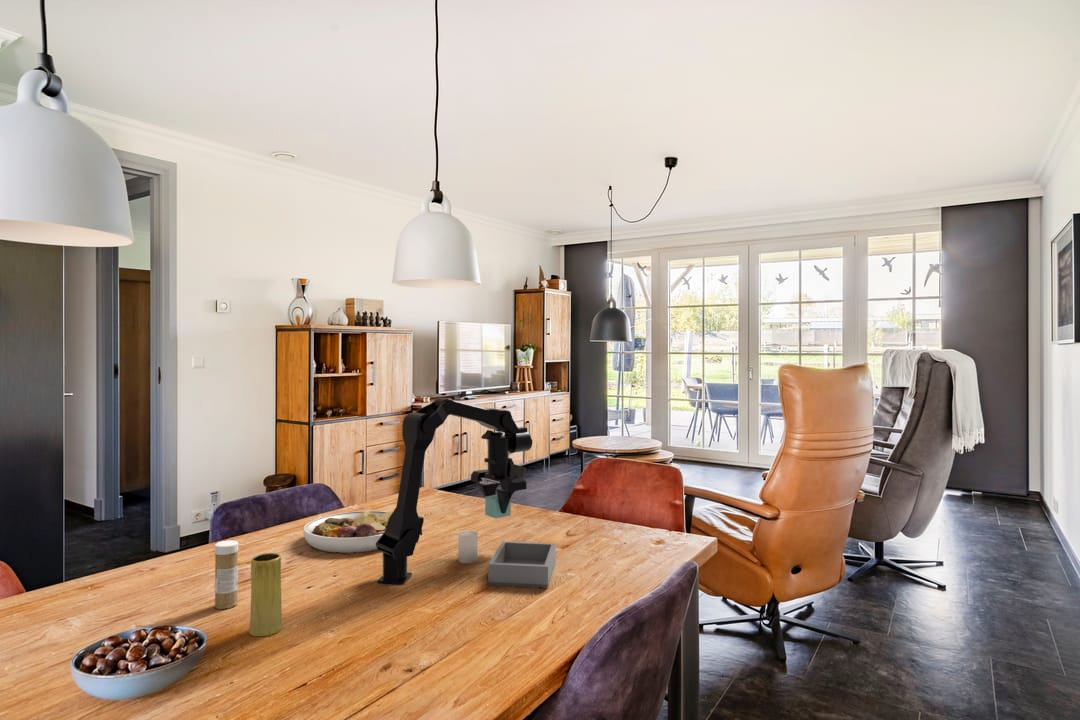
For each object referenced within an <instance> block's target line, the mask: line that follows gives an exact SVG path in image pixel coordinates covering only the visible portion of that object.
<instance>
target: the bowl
mask: <svg viewBox="0 0 1080 720" xmlns="http://www.w3.org/2000/svg"><path fill="white" fill-rule="evenodd" d="M392 513H393V511H385V510H384V511H383V510H356V511H345V512H339V513H333V514H328V515H324V516H320V517H318V518H315V519H313V520H311V521H309V522H307V523H306V524H305V525H304V526H303V530H302V531H303V538H304V540H305V541H306V542H307V544H309V545H310V546H311V547H312V548H314V549H317V550H319V551H324V552H327V553H329V552H330V553H336V552H339V553H340V554H341V553H342V554H351V553H353V554H354V552H356V553H364V552H365V551H366V552H371V551H372V550H373V551H378V550H377V547H376V542H377V541H378V540H379V538H380V537H381V536H382V535H383V533H384V532H385V530H386V526H387V523H388V520H389V517H390V516H391V514H392ZM373 551H372V552H373ZM366 552H365V553H366ZM339 553H338V554H339Z"/></svg>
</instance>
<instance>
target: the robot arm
mask: <svg viewBox="0 0 1080 720" xmlns="http://www.w3.org/2000/svg"><path fill="white" fill-rule="evenodd" d="M449 416H452V417H453V416H454V417H458V418H461V419H466V420H470V421H474V422H476V423H478V424H479V425H481V426H483V427H485V428H487V430H486V431H485V432H484V433H483V434H482V435H481V437H480V438H481V439H482V440H487V457H485V458H484V463H487V469H479V470H474V471H472V472H471V474H470V481H471V482H473V483H477V487H478V488H479V489H480V491H481V493H482V495H483V497H484V498H485V497H486V496H492V495H497V496H498V501H499V505H500V509H501V512H502V514H504V513H506V510H507V507H508V504H509V501H510V499H511V500H512V496H513V495H514V494H515V492H517V491H523V490H527V488H528V484H527V483H528V481H527V480H526V479H525V474H526V470H527V467H523V466H522V465H519V464H515V463H514V462H515V461H513V458H511V457H509V455H510V454H515V453H521V452H527V451H530V450H531V448H532V446H533V439H532V436H531V433H529V432H528V427H526V426H525V427H523V426H521V427H518V425H517V424H516V422H515V420H514V418H513V416H512V412H511V411H510V410H507V409H502V408H501V409H500V408H490V407H489V408H488V407H487V408H486V407H480V406H475V405H472V404H468V403H464V402H460V401H456V400H453V399H452V398H448V397H447V398H446V397H438V398H436V399H435V400H434V401H432V402H431V403H429V404H427V405H424V406H423V407H420V408H419V409H416V411H415V412H410V413H408V414H407V415H406V416H404V417H403V420H402V430H401V431H402V432H401V435H402V439H403V443H404V446H405V451H404V457H403V462H402V470H401V477H400V482H399V489H398V494H397V501H396V506H395V508H394V509H393V511H392V512H393V513H392V514H391V516H390V517H389V520H388V523H387V526H386V530H385V532H384V533H383V535H382V536H381V537H380V538H379V540H378V541H377V542H376V547H377V550H376V551H377V552H380V553H382V575H381V576H380V577H379V578H378V579H377V581H376V582H377V583H379V584H397V585H398V584H399V585H403V584H405V583H406V582H407V581H408V580H409V579H410V578H411V576H412V575H413V573H412V572H409V571H408V557H410V556H413V554H414V552H415V548H416V544H417V543H418V542H419V540H420V536H422V535H423V524H424V523H425V522H424V521H425V520H424V517H422V516H419V514H418V510H417V509H418V502H419V495H420V490H421V482H422V476H423V470H424V469H423V467H424V463H425V456H426V451H427V449H428V448H429V447H430V445H431V444H432V442H433V440H434V436H435V433H436V432H437V431H436V430H437V429H438V428H439V427H440V426H442V425H443V424H444V423H445V421H446V419H447V418H448V417H449ZM489 429H490V430H489ZM493 430H494V431H495V432H494V431H493ZM509 453H510V454H509ZM478 482H479V483H478ZM499 486H500V488H499Z"/></svg>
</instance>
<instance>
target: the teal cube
mask: <svg viewBox="0 0 1080 720" xmlns="http://www.w3.org/2000/svg"><path fill="white" fill-rule="evenodd" d="M484 499H485V500H484V504H485V506H484V508H485V509H484V513H485V514H484V515H485V516H488V517H490V518H492V519H493V518H494V519H501V518H506V517H510V516H512V515H511V512H512V511H511V510H512V508H511V506H512V505H511V504H512V503H511V502H512V498H511V499H510V501H509V504H508V507H507V510H506V513H504V514H502V512H501V509H500V505H499V501H498V496H497V494H496V495H492V496H486V497H484Z"/></svg>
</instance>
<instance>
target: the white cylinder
mask: <svg viewBox="0 0 1080 720" xmlns="http://www.w3.org/2000/svg"><path fill="white" fill-rule="evenodd" d="M457 535H458V541H457V542H458V543H457V545H458V548H457V549H458V551H457V553H458V559H457V561H458V562H459V563H461V564H473V563H476V562H477V561H478V556H479V555H478V545H479V543H478V541H479V540H478V539H479V538H478V532H477V531H475V530H465V531H460V532H458V534H457Z"/></svg>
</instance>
